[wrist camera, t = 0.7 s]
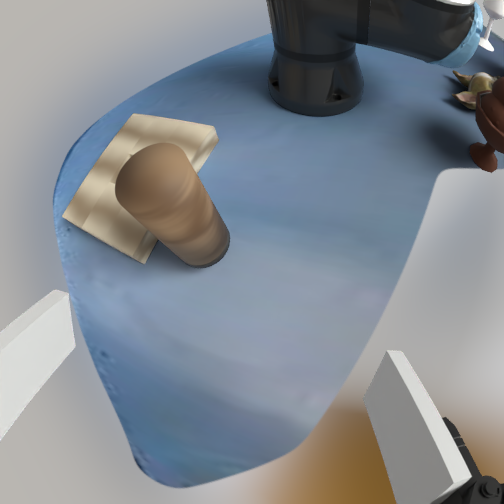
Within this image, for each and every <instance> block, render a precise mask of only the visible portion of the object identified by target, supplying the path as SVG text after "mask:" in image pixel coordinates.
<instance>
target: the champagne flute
mask: <svg viewBox="0 0 504 504" xmlns="http://www.w3.org/2000/svg"><path fill="white" fill-rule="evenodd" d="M483 4H484V8H485V10H486V12H487V13H488V15H489V16H490V19H489V23H488V26H487V29H486V32H485V36H484V38H480V42H479V45H480V46H482V47H484V48H485V49H487V50H490V51H494V48H493V47H492V46H491V44H490V43H489V41H488V37H489V34H490V31H491V27H492V24H493V21H494V19H502V18H504V0H484V2H483Z"/></svg>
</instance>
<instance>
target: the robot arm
mask: <svg viewBox="0 0 504 504" xmlns="http://www.w3.org/2000/svg"><path fill="white" fill-rule="evenodd" d="M266 1H267V6H268V12H269V17H270V23H271V28H272V35H273V41H274V48H275V50H274V54H273V57H272V61H271V65H270V69H269V73H268V85H269V91H270V94H271V96H272V97H273V99H274V100H275V101H276V102H277V103H278V104H280V105H281V106H283V107H284V108H286V109H288V110H290V111H293V112H296V113H300V114H304V115H311V116H330V115H336V114H340V113H343V112H346V111H348V110H350V109H352V108H353V107H355V106H356V105H357V104H358V103H359V101H360V100H361V98H362V93H363V86H364V82H363V76H362V73H361V70H360V66H359V63H358V60H357V56H356V53H355V45H356V43H358V44H363V45H368V46H372V47H377V48H381V49H385V50H389V51H393V52H396V53H400V54H403V55H407V56H410V57H414V58H417V59H420V60H423V61H424V62H426V63H430V64H438V65H441V66H444V67H447V68H458V67H460V66H462V65H464V64H465V63H467V62H468V61H469V60H470V58H471V57H472V56H473V54H474V52H475V51H476V49H477V47H478V44H479V42H480V37H479V34H480V33H481V32H482V28H483V17H482V12H481V9H480V7H479V5H478V4H477V3H476V2H475V0H371V2H370V0H266ZM369 15H370V18H369ZM368 29H369V31H368ZM75 347H76V344H75V339H74V333H73V326H72V320H71V311H70V304H69V294H68V293H66V292H62V291H59V290H56V289H55V290H53V291H52V292H51V293H49V294H48V295H46V296H45V297H44V298H42V299H41V300H40V301H39V302H37V303H36V304H35V305H33V306H32V307H31V308H29V309H28V310H27V311H25V312H24V313H23V314H22V315H20V316H19V317H18V318H17V319H16V320H14V321H13V322H12V323H11V324H9V325H8V326H7V327H5V328H4V329H3V330H2V331H1V332H0V441H1V439H2V438H3V437H4V435H5V434H6V433H7V431H8V430H9V428H10V427H11V425H12V424H13V423H14V422H15V420H16V419H17V418H18V416H19V415H20V414H21V413H22V411H23V410H24V409H25V407H26V406H27V404H28V403H29V402H30V401H31V400H32V398H33V397H34V396H35V395H36V393H37V392H38V391H39V390H40V388H41V387H42V386H43V385H44V384H45V382H46V381H47V380H48V379H49V377H50V376H51V375H52V374H53V373H54V371H55V370H56V369H57V368H58V367H59V365H60V364H61V363H62V362H63V361H64V360H65V358H66V357H67V356H68V355H69V354H70V353H71V351H72V350H73V349H74V348H75ZM363 400H364V403H365V406H366V409H367V411H368V414H369V417H370V420H371V423H372V426H373V429H374V432H375V435H376V438H377V441H378V444H379V447H380V450H381V453H382V456H383V459H384V463H385V465H386V469H387V472H388V475H389V479H390V482H391V485H392V488H393V492H394V496H395V499H396V503H397V504H504V484H500V483H499V482H498V481H497V480H496V479H495V478H493V477H491V476H483V477H482V475H481V474H480V472H479V470H478V468H477V466H476V464H475V462H474V460H473V458H472V456H471V454H470V453H469V450H468V449H467V447H466V446H465V443H464V442H463V439H462V438H460V434H459V432H458V430H457V429H456V427H455V426H454V424H453V423H451V422H450V421H449V420H448V419H447V418H446V417H444V418H441V416H440V414H439V412H438V411H437V409H436V407H435V405H434V403H433V402H432V400H431V398H430V397H429V395H428V393H427V391H426V390H425V388H424V387H423V385H422V383H421V381H420V380H419V378H418V376H417V375H416V373H415V371H414V370H413V368H412V367H411V365H410V363H409V362H408V360H407V358H406V357H405V355H404V354H403V352H402V351H389V350H387V351H386V354H385V355H384V358H383V360H382V362H381V364H380V366H379V368H378V370H377V372H376V374H375V376H374V378H373V380H372V382H371V384H370V386H369V388H368V390H367V392H366V394H365V395H364V397H363Z"/></svg>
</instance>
